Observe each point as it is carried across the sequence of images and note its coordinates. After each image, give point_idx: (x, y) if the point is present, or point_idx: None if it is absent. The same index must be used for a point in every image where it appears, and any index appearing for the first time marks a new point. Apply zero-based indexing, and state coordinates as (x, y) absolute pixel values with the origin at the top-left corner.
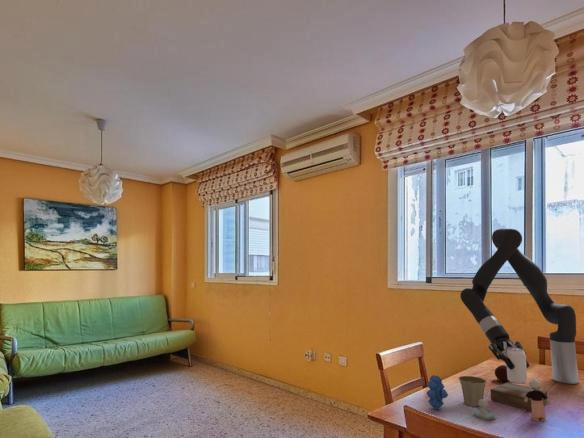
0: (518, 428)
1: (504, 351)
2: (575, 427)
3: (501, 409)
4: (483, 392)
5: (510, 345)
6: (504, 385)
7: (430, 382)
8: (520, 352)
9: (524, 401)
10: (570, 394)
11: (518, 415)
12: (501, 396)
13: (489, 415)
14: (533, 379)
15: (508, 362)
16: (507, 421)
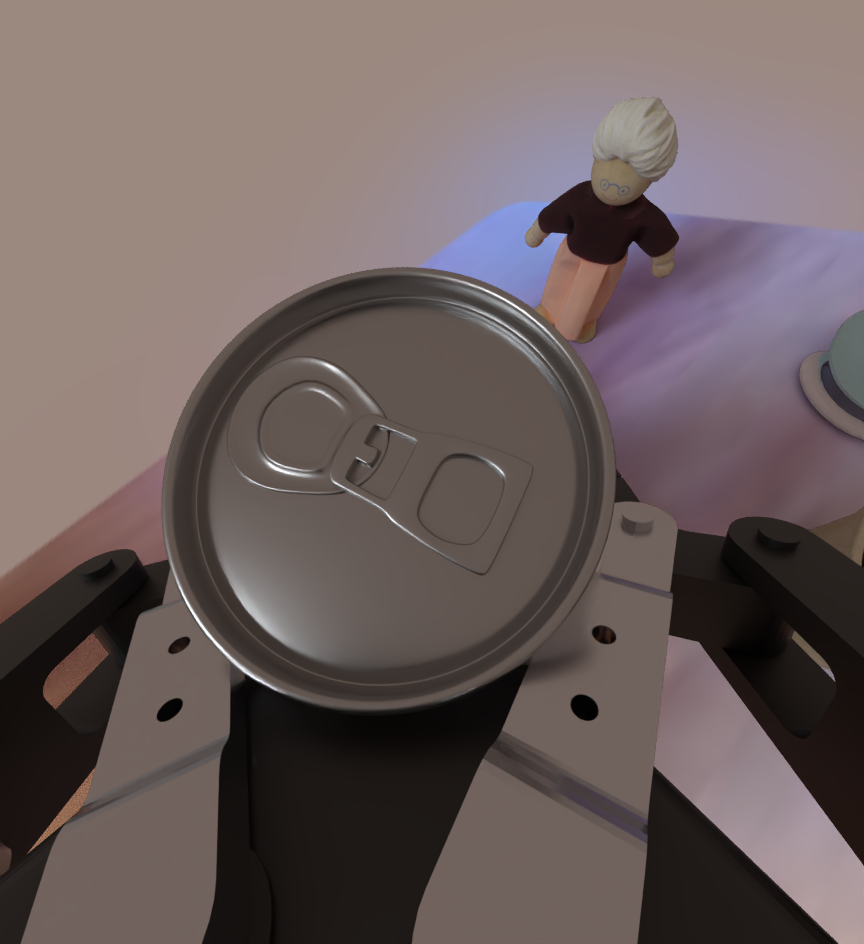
0: (752, 256)
1: (666, 592)
2: (476, 234)
3: (670, 469)
4: (830, 524)
5: (235, 798)
6: None
7: None
8: (430, 301)
9: (668, 272)
10: (55, 577)
11: (632, 379)
12: None
13: (853, 361)
14: (649, 117)
15: (616, 478)
16: (753, 326)
